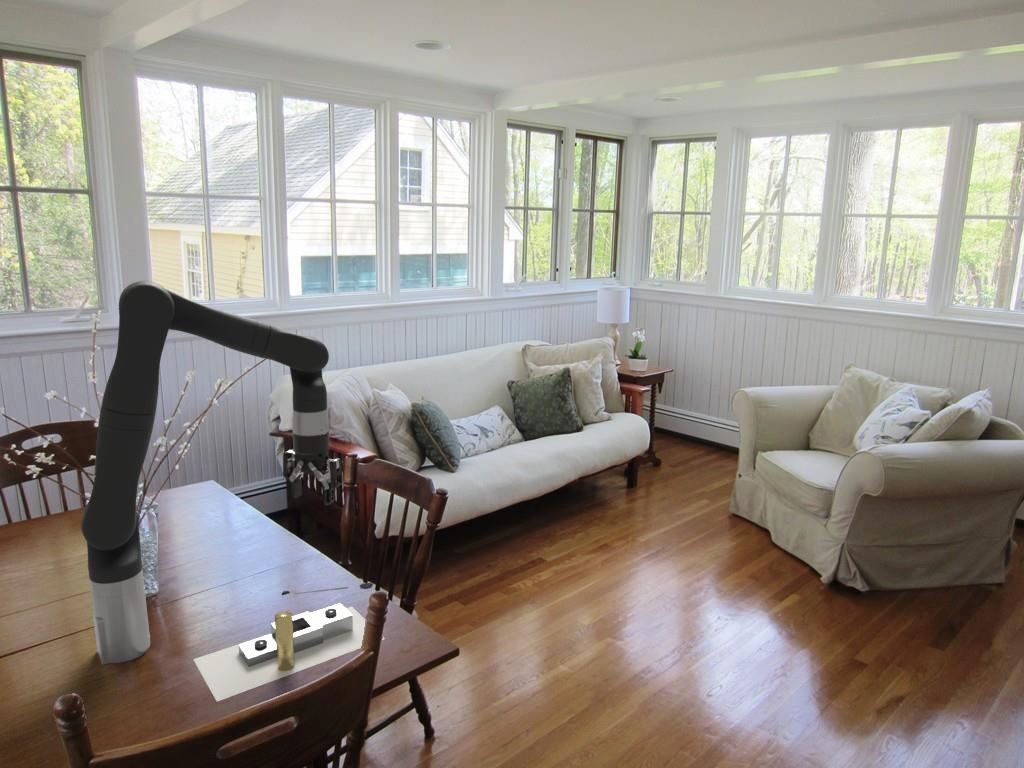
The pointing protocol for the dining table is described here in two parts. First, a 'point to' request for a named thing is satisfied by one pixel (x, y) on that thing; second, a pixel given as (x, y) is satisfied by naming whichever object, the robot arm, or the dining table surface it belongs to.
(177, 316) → the robot arm
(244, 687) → the mat
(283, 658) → the brass pin
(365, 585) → the tactical pry hammer
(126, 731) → the dining table surface
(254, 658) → the slotted stepped fixture
